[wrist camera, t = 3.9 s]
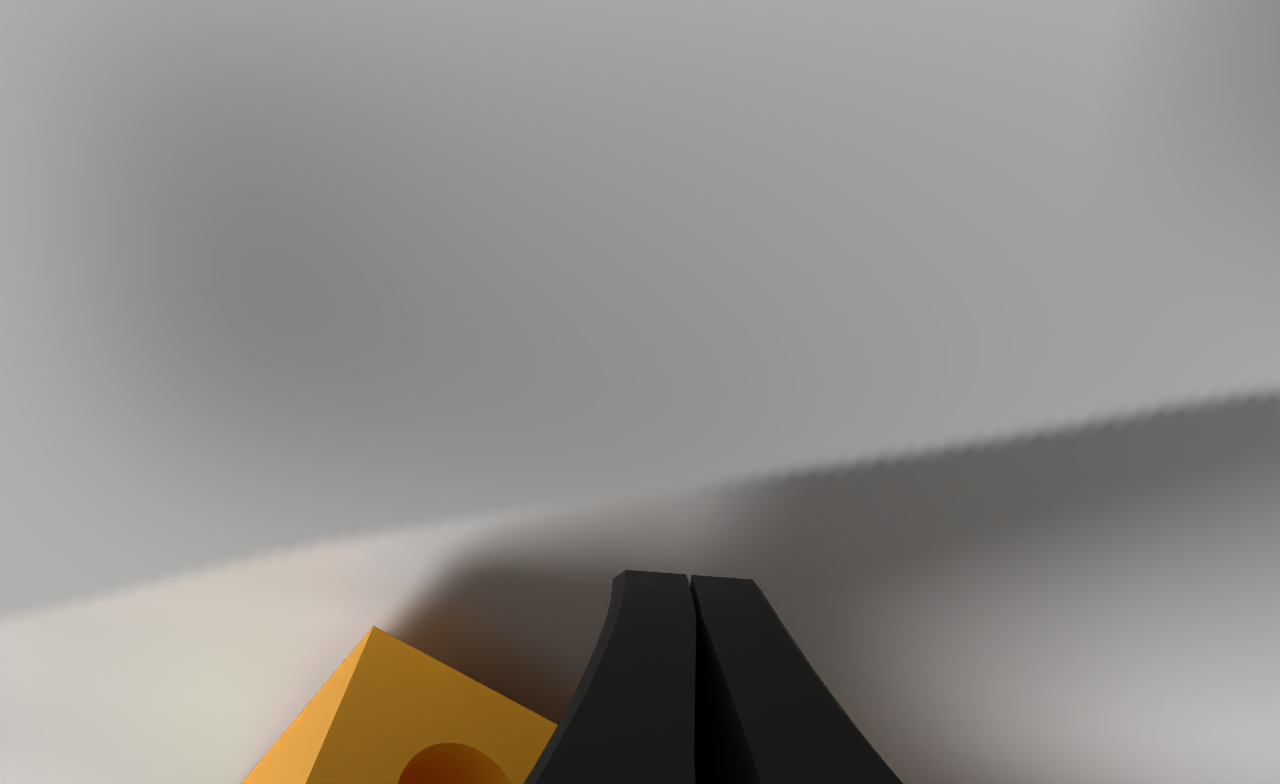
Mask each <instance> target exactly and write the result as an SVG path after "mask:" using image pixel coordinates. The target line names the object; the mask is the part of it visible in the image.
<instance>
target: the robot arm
mask: <svg viewBox="0 0 1280 784" xmlns="http://www.w3.org/2000/svg"><path fill="white" fill-rule="evenodd" d="M523 784H903V783H902V782H901V781H900V780H899V778H898V777H897V776H896V775H895V774H894V773H893V771H892V770H891V769H890V768H889V767H888V766H887V764H886V763H885V762H884V761H883V760H882V758H881V757H880V756H879V755H878V753H877V752H876V751H875V750H874V748H873V747H872V746H871V745H870V743H869V742H868V741H867V740H866V738H865V737H864V736H863V735H862V733H861V732H860V731H859V729H858V728H857V727H856V726H855V724H854V723H853V722H852V720H851V719H850V718H849V716H848V715H847V714H846V712H845V711H844V710H843V708H842V707H841V706H840V704H839V703H838V702H837V700H836V699H835V698H834V696H833V695H832V694H831V693H830V691H829V690H828V689H827V687H826V686H825V684H824V683H823V682H822V680H821V679H820V677H819V676H818V675H817V673H816V672H815V670H814V669H813V668H812V666H811V665H810V663H809V662H808V660H807V659H806V658H805V656H804V655H803V653H802V652H801V650H800V649H799V647H798V646H797V644H796V643H795V642H794V640H793V639H792V637H791V636H790V634H789V633H788V631H787V630H786V628H785V627H784V625H783V623H782V622H781V620H780V619H779V617H778V616H777V614H776V613H775V611H774V610H773V608H772V606H771V605H770V603H769V602H768V600H767V599H766V597H765V596H764V594H763V592H762V591H761V590H760V588H759V587H758V586H757V585H756V584H755V582H754V581H753V580H750V579H737V578H724V577H711V576H698V575H692V576H691V583H690V586H689V583H688V579H687V576H686V575H685V574H672V573H658V572H645V571H632V570H625V571H624V572H622V573H621V574H619V575H618V576H616V577H615V578H614V579H613V585H612V594H611V602H610V607H609V611H608V614H607V617H606V621H605V624H604V627H603V629H602V632H601V635H600V637H599V640H598V643H597V645H596V648H595V650H594V653H593V655H592V657H591V659H590V662H589V664H588V666H587V668H586V670H585V672H584V674H583V677H582V679H581V681H580V683H579V685H578V687H577V690H576V692H575V694H574V696H573V698H572V700H571V702H570V704H569V706H568V708H567V710H566V712H565V713H564V715H563V717H562V719H561V720H560V722H559V724H558V726H557V727H556V729H555V731H554V733H553V734H552V736H551V738H550V740H549V741H548V743H547V745H546V747H545V748H544V750H543V752H542V754H541V755H540V757H539V759H538V761H537V762H536V764H535V766H534V767H533V769H532V771H531V772H530V774H529V775H528V777H527V779H526V780H525V782H524V783H523Z"/></svg>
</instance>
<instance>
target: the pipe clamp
mask: <svg viewBox="0 0 1280 784" xmlns="http://www.w3.org/2000/svg"><path fill="white" fill-rule="evenodd" d="M557 726H558V725H557V724H555V723H553V722H552V721H550V720H548V719H546V718H544V717H542V716H540V715H539V714H537V713H535V712H533V711H531V710H529V709H527V708H526V707H524V706H522V705H520V704H518V703H516V702H514V701H513V700H511V699H509V698H507V697H505V696H503V695H501V694H500V693H498V692H496V691H494V690H492V689H490V688H488V687H486V686H485V685H483V684H481V683H479V682H477V681H475V680H473V679H472V678H470V677H468V676H466V675H464V674H462V673H460V672H459V671H457V670H455V669H453V668H451V667H449V666H447V665H446V664H444V663H442V662H440V661H438V660H436V659H434V658H433V657H431V656H429V655H427V654H425V653H423V652H421V651H420V650H418V649H416V648H414V647H412V646H410V645H408V644H406V643H405V642H403V641H401V640H399V639H397V638H395V637H393V636H392V635H390V634H388V633H386V632H384V631H382V630H380V629H379V628H377V627H375V626H373V627H372V628H371V629H370V631H369V632H368V633H367V634H366V635H365V637H364V638H363V639H362V640H361V641H360V643H359V644H358V645H357V646H356V647H355V649H354V650H353V651H352V652H351V653H350V655H349V656H348V657H347V658H346V659H345V660H344V662H343V663H342V664H341V665H340V666H339V668H338V669H337V670H336V671H335V672H334V674H333V675H332V676H331V677H330V678H329V680H328V681H327V682H326V683H325V684H324V685H323V687H322V688H321V689H320V690H319V691H318V693H317V694H316V695H315V696H314V697H313V699H312V700H311V701H310V702H309V703H308V705H307V706H306V707H305V708H304V709H303V711H302V712H301V713H300V714H299V715H298V716H297V718H296V719H295V720H294V721H293V722H292V724H291V725H290V726H289V727H288V728H287V730H286V731H285V732H284V733H283V734H282V736H281V737H280V738H279V739H278V740H277V741H276V743H275V744H274V745H273V746H272V747H271V749H270V750H269V751H268V752H267V753H266V755H265V756H264V757H263V758H262V759H261V761H260V762H259V763H258V764H257V765H256V767H255V768H254V769H253V770H252V771H251V772H250V774H249V775H248V776H247V777H246V778H245V780H244V781H243V782H242V783H241V784H523V783H524V782H525V780H526V779H527V777H528V775H529V774H530V772H531V771H532V769H533V767H534V766H535V764H536V762H537V761H538V759H539V757H540V755H541V754H542V752H543V750H544V748H545V747H546V745H547V743H548V741H549V740H550V738H551V736H552V734H553V733H554V731H555V729H556V727H557Z"/></svg>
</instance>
